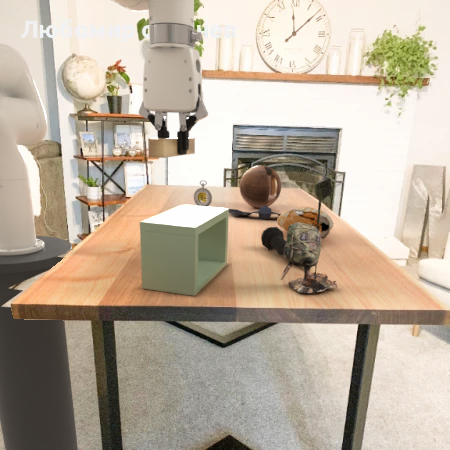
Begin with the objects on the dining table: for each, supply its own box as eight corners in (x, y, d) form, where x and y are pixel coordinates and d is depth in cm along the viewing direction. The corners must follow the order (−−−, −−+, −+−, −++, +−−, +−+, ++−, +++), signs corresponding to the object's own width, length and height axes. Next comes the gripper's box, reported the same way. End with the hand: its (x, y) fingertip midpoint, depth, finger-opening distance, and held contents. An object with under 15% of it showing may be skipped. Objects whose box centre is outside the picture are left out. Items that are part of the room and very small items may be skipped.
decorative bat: (218, 204, 139) (221, 202, 149) (217, 217, 141) (220, 214, 150) (313, 209, 137) (310, 206, 147) (311, 222, 139) (308, 219, 148)
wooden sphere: (234, 204, 168) (235, 163, 162) (271, 204, 172) (274, 163, 166) (245, 211, 154) (247, 166, 149) (285, 211, 158) (289, 167, 153)
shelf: (141, 288, 79) (139, 221, 75) (182, 259, 97) (183, 204, 93) (194, 296, 76) (195, 227, 72) (226, 264, 94) (228, 208, 90)
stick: (148, 157, 75) (147, 138, 74) (181, 152, 90) (181, 137, 89) (163, 157, 75) (163, 139, 74) (194, 153, 89) (194, 137, 88)
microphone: (310, 282, 95) (272, 247, 111) (322, 258, 93) (281, 226, 109) (290, 276, 93) (253, 242, 109) (301, 252, 91) (263, 220, 107)
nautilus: (340, 253, 109) (279, 252, 110) (327, 228, 128) (275, 228, 129) (344, 221, 106) (281, 221, 107) (329, 201, 125) (276, 201, 126)
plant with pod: (272, 280, 86) (281, 174, 78) (328, 280, 87) (342, 175, 80) (282, 295, 78) (293, 179, 71) (343, 295, 80) (360, 181, 72)
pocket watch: (189, 213, 147) (190, 182, 144) (186, 208, 155) (187, 179, 151) (214, 213, 149) (214, 182, 145) (209, 208, 157) (210, 179, 153)
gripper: (223, 43, 77) (221, 154, 84) (138, 45, 81) (142, 151, 87) (210, 35, 70) (209, 157, 77) (118, 37, 74) (124, 153, 81)
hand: (173, 153), depth 82 cm, fingers closed on stick, 2 cm apart
